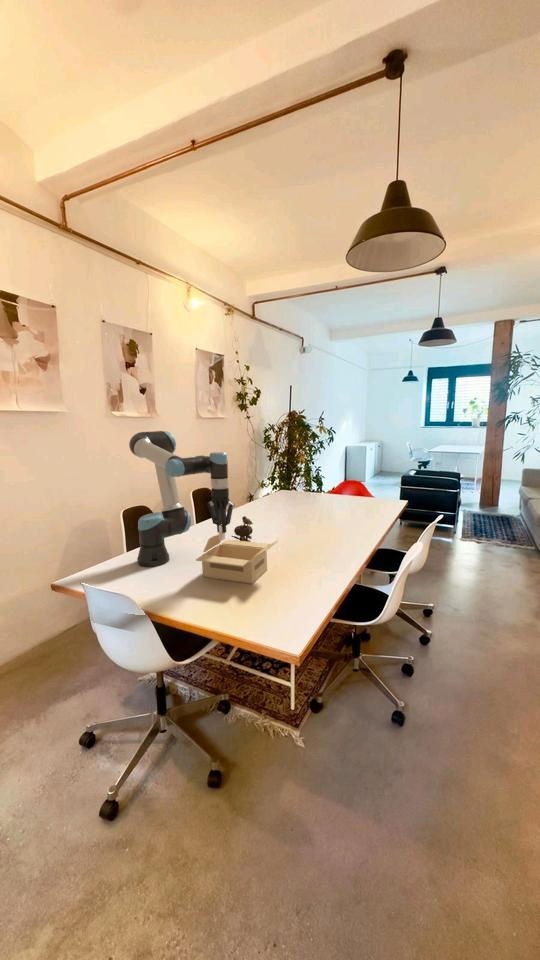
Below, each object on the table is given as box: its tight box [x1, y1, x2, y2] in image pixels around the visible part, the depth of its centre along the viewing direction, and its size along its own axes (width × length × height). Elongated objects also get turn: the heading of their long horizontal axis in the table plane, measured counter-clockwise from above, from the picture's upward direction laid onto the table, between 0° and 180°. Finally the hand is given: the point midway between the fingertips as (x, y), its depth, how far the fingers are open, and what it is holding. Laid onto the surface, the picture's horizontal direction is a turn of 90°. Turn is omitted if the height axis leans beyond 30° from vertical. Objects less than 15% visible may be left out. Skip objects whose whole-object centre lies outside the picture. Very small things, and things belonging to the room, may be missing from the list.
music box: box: [231, 515, 254, 542], centre depth 194 cm, size 15×11×20 cm
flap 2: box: [252, 540, 279, 559], centre depth 162 cm, size 1×14×7 cm
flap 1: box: [203, 532, 221, 553], centre depth 171 cm, size 1×14×7 cm, turn 160°
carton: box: [195, 539, 271, 585], centre depth 169 cm, size 24×28×10 cm
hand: (222, 539), depth 170 cm, fingers closed
